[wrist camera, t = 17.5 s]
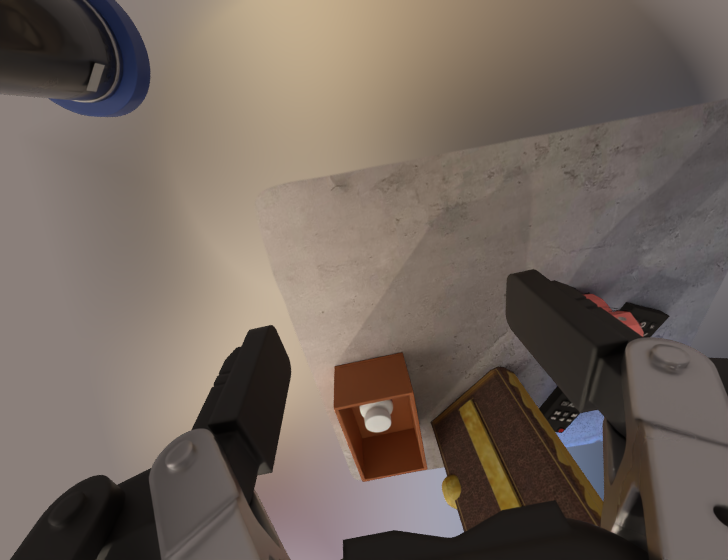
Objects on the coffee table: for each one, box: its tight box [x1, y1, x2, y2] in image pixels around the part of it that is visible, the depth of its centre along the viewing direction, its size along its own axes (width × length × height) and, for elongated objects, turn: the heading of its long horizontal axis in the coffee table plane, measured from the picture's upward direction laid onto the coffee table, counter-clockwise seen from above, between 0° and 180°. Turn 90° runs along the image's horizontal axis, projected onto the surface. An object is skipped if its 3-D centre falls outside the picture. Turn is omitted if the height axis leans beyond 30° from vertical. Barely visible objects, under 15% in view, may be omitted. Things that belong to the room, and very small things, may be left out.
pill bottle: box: [359, 399, 393, 432], centre depth 48 cm, size 5×5×10 cm
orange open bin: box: [334, 353, 427, 482], centre depth 52 cm, size 21×12×9 cm, turn 12°
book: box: [431, 367, 603, 532], centre depth 48 cm, size 22×8×25 cm, turn 145°
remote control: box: [539, 302, 669, 433], centre depth 56 cm, size 8×32×2 cm, turn 164°
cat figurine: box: [583, 293, 644, 337], centre depth 43 cm, size 7×7×12 cm
